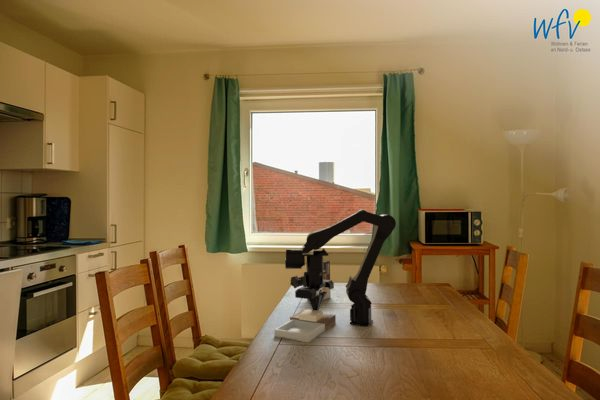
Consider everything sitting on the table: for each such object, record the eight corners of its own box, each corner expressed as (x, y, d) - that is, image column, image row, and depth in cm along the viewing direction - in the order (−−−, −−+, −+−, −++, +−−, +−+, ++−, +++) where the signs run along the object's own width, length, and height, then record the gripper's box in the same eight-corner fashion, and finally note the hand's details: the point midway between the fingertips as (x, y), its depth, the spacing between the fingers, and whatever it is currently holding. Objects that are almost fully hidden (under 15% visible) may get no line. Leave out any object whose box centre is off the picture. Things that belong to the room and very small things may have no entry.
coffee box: (318, 295, 186) (318, 259, 186) (330, 297, 182) (330, 260, 182) (306, 300, 179) (306, 262, 179) (318, 302, 175) (318, 263, 175)
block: (322, 316, 143) (322, 311, 143) (315, 321, 138) (315, 315, 138) (306, 314, 146) (306, 309, 146) (299, 319, 140) (299, 313, 140)
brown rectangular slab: (335, 323, 146) (335, 314, 146) (324, 331, 138) (324, 321, 138) (302, 318, 152) (302, 310, 152) (290, 325, 144) (290, 317, 144)
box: (324, 331, 138) (324, 323, 138) (308, 342, 127) (308, 334, 127) (292, 326, 143) (292, 319, 143) (274, 336, 133) (274, 329, 132)
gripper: (306, 262, 157) (307, 304, 158) (281, 271, 141) (281, 317, 141) (334, 264, 152) (334, 307, 152) (310, 273, 136) (311, 322, 136)
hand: (315, 313), depth 145 cm, fingers closed
